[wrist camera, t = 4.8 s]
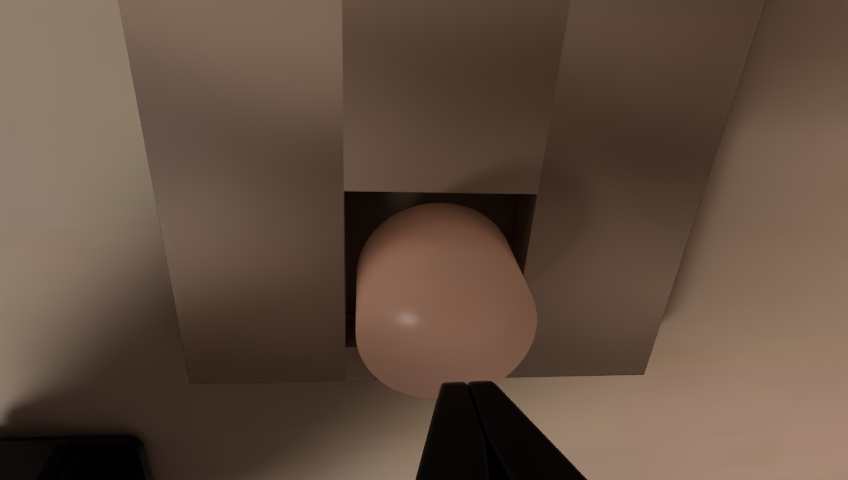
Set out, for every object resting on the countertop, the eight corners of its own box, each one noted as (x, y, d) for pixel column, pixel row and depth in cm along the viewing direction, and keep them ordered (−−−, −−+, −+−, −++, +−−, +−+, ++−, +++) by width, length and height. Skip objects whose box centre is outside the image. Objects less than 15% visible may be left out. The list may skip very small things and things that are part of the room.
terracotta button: (501, 334, 16) (523, 397, 13) (356, 336, 15) (355, 401, 13) (522, 203, 14) (551, 253, 12) (356, 200, 13) (355, 252, 11)
